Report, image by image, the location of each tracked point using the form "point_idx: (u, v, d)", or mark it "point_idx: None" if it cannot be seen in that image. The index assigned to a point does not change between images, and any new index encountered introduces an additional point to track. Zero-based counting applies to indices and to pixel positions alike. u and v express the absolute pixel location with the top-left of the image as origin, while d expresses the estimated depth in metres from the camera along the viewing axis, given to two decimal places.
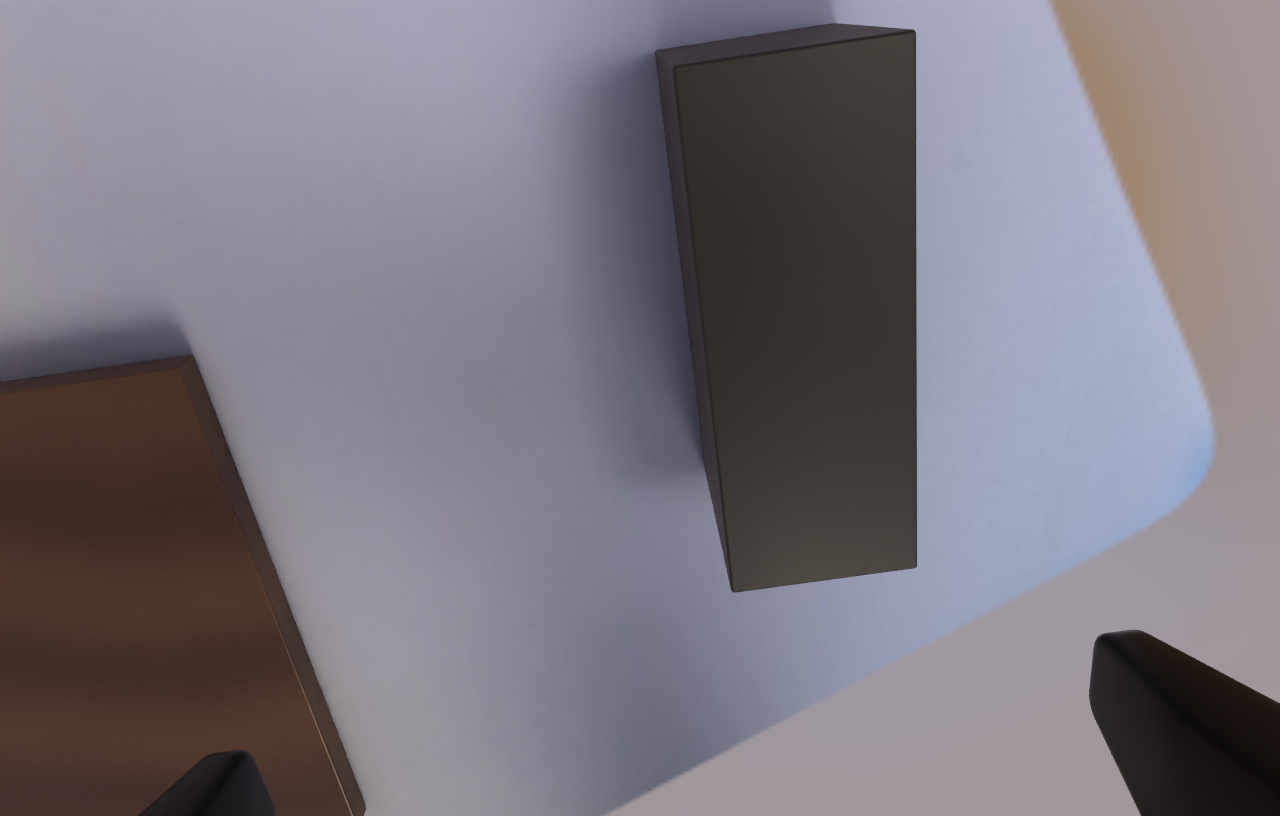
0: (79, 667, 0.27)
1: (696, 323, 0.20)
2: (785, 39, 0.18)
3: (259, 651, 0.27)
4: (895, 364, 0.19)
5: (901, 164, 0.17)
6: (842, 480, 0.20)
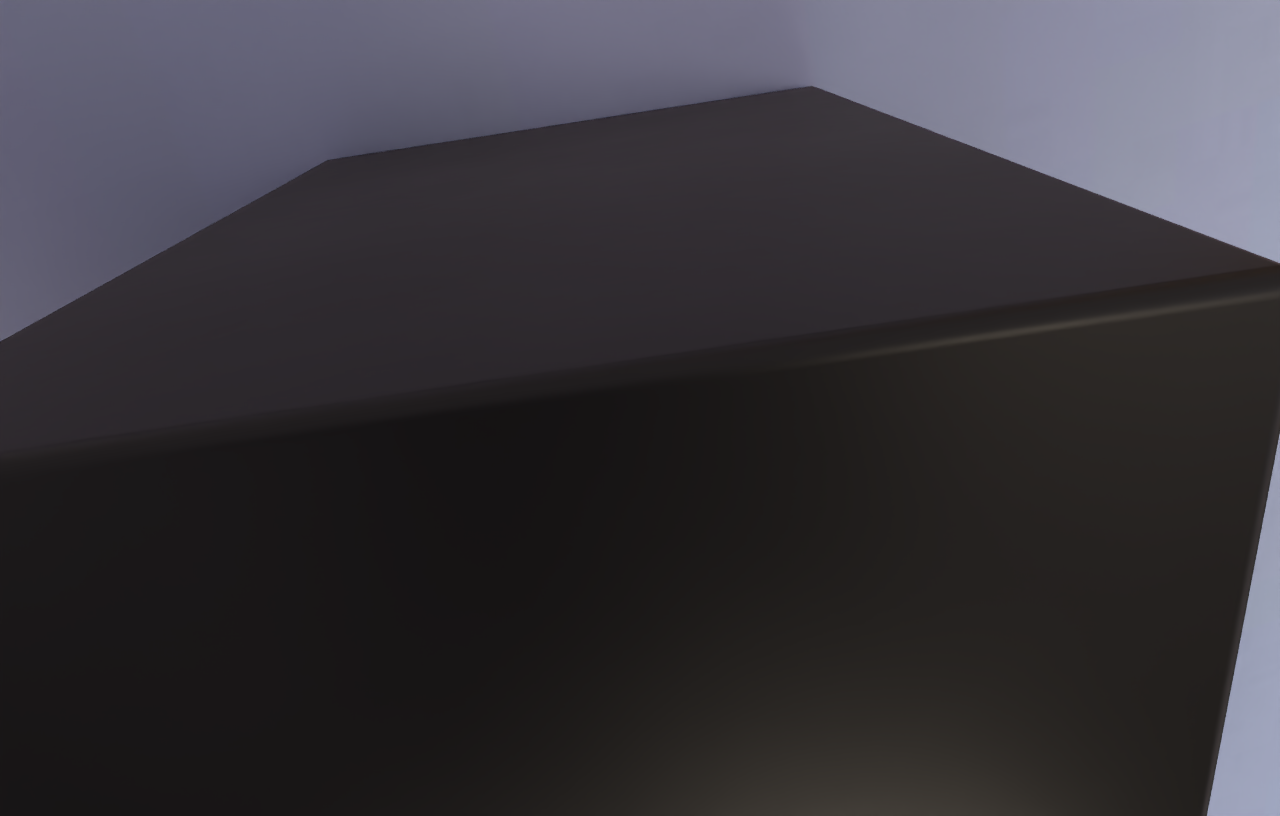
0: None
1: None
2: (604, 189, 0.05)
3: None
4: None
5: None
6: None
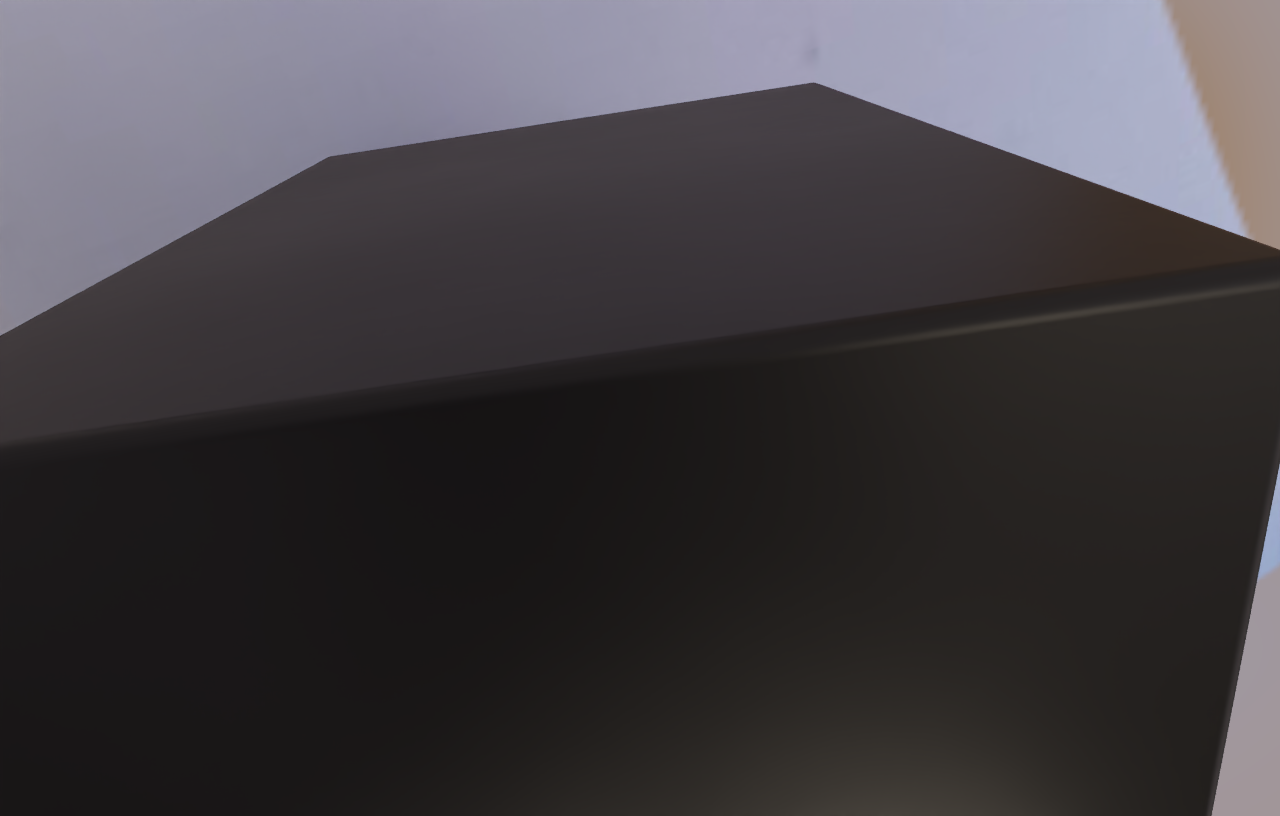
0: None
1: None
2: (607, 183, 0.05)
3: None
4: None
5: None
6: None
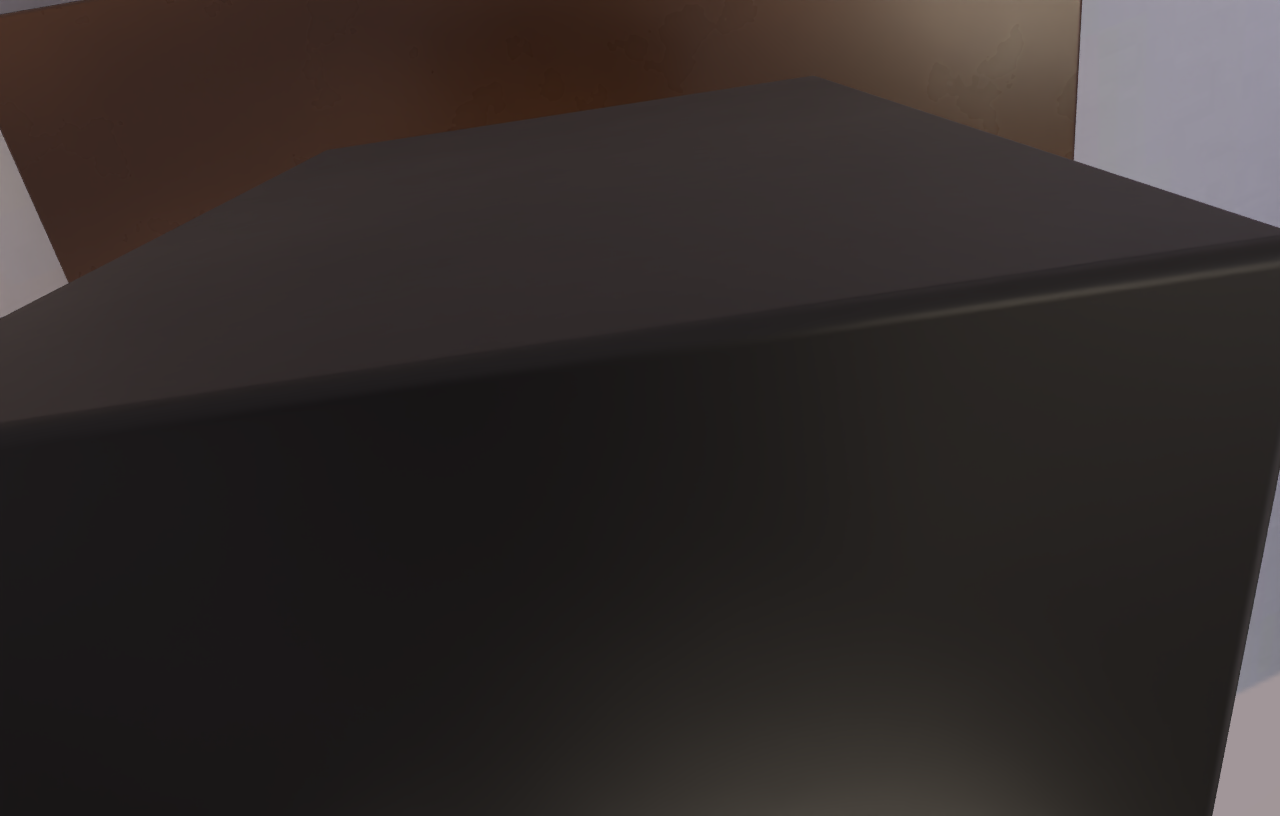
0: None
1: None
2: (605, 172, 0.05)
3: None
4: None
5: None
6: None
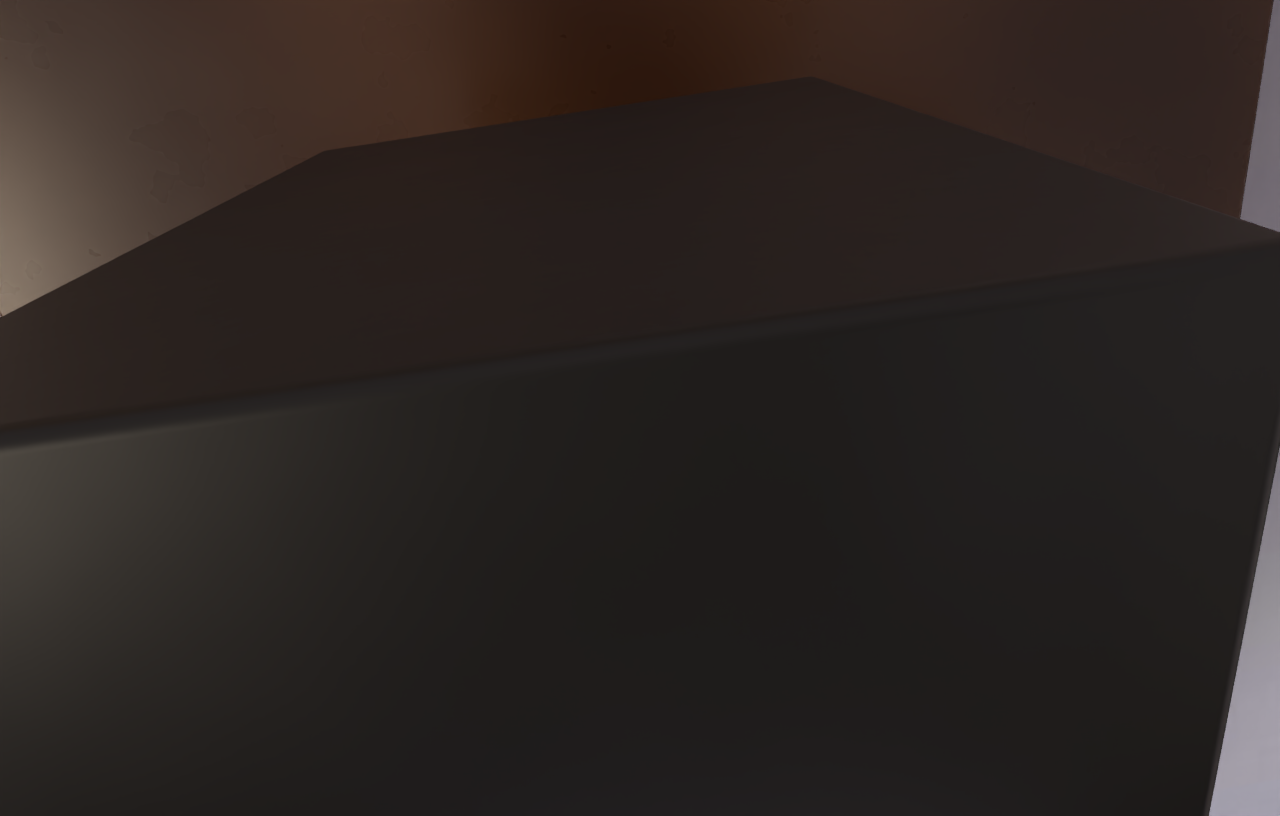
0: None
1: None
2: (602, 173, 0.05)
3: None
4: None
5: None
6: None
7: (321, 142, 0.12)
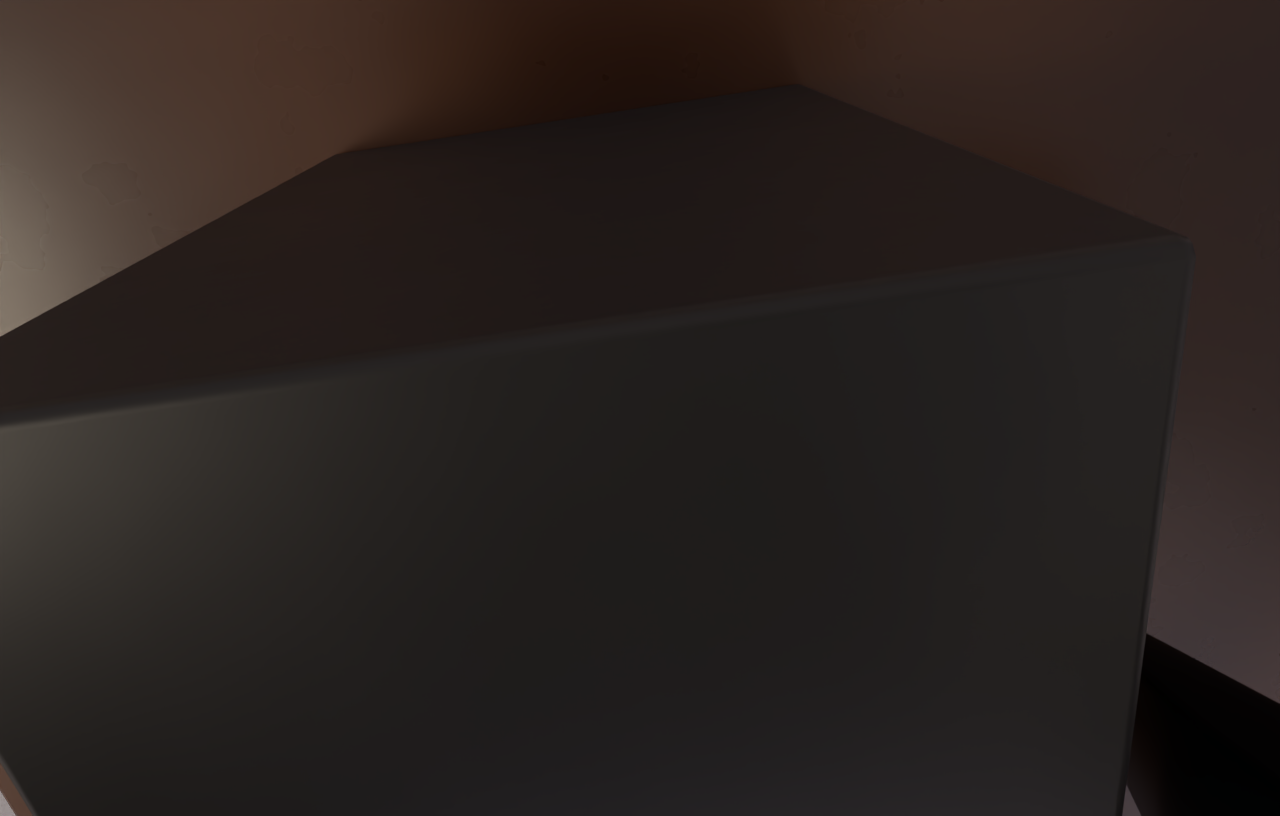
0: None
1: None
2: (597, 177, 0.05)
3: None
4: None
5: (1060, 799, 0.04)
6: None
7: (204, 209, 0.08)
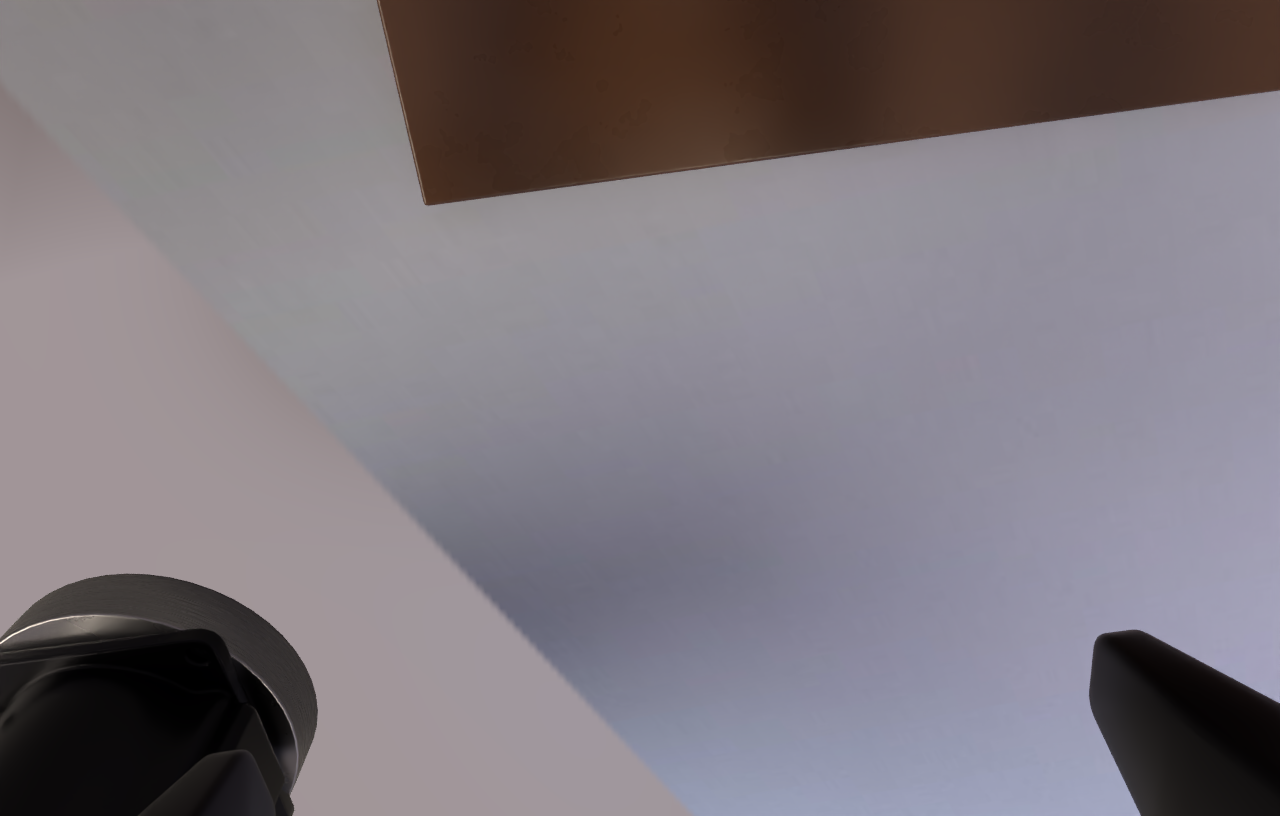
0: None
1: None
2: None
3: (835, 102, 0.17)
4: None
5: None
6: None
7: None
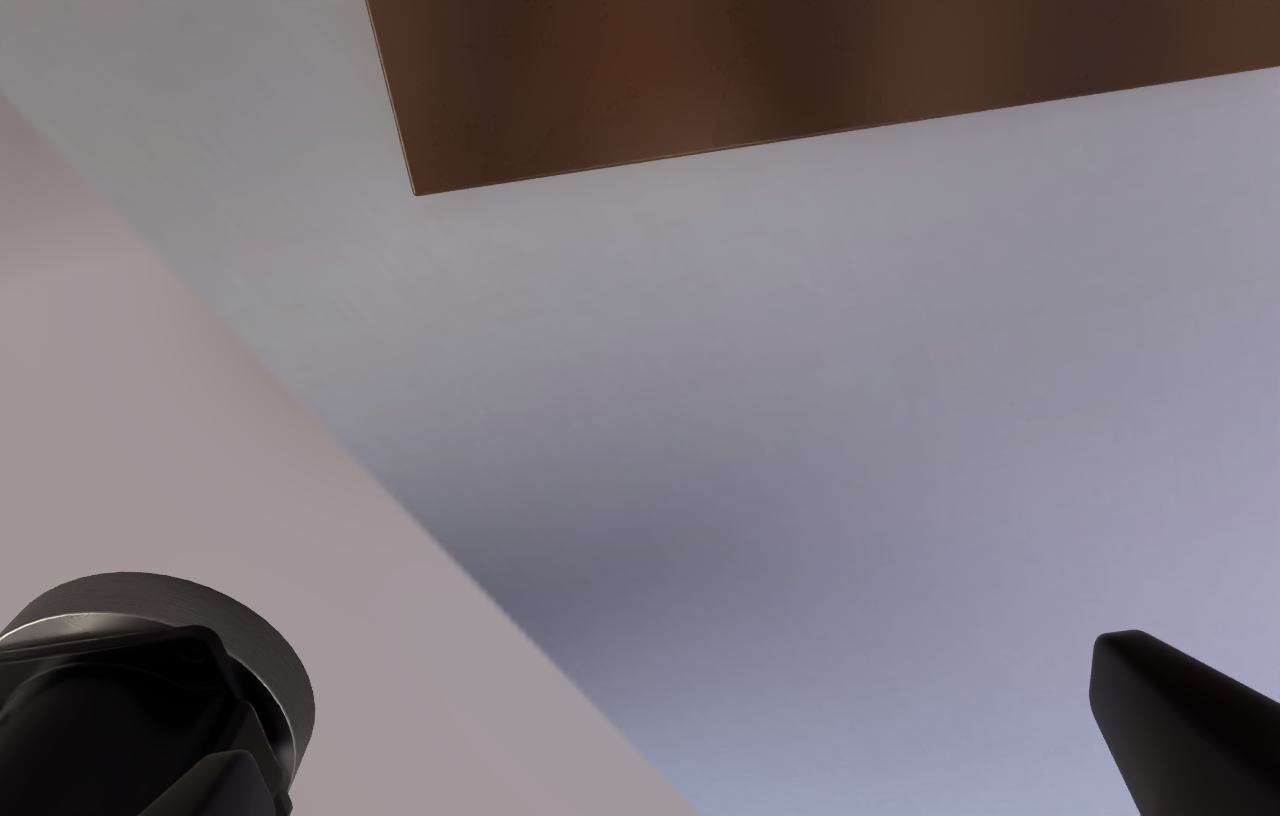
0: None
1: None
2: None
3: (821, 87, 0.17)
4: None
5: None
6: None
7: None
